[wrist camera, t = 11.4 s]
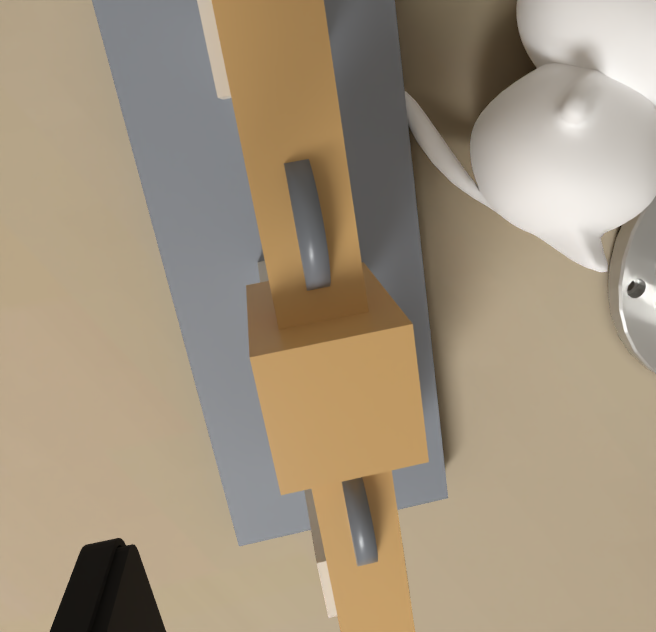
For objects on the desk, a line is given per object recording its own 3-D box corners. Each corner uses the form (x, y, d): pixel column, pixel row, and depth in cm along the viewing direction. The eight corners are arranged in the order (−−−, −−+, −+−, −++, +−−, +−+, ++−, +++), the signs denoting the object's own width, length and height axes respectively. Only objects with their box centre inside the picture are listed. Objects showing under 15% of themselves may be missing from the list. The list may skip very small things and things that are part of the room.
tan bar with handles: (325, -3, 17) (368, -54, 12) (403, 543, 24) (453, 675, 19) (187, 19, 17) (162, -23, 11) (307, 566, 24) (329, 707, 18)
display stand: (378, -48, 21) (454, -129, 14) (438, 479, 30) (506, 606, 22) (98, -5, 21) (20, -66, 13) (238, 524, 29) (239, 672, 21)
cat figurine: (641, 299, 17) (920, -176, 13) (325, 159, 20) (484, -258, 16) (621, 274, 25) (793, -28, 21) (398, 177, 28) (516, -102, 24)
